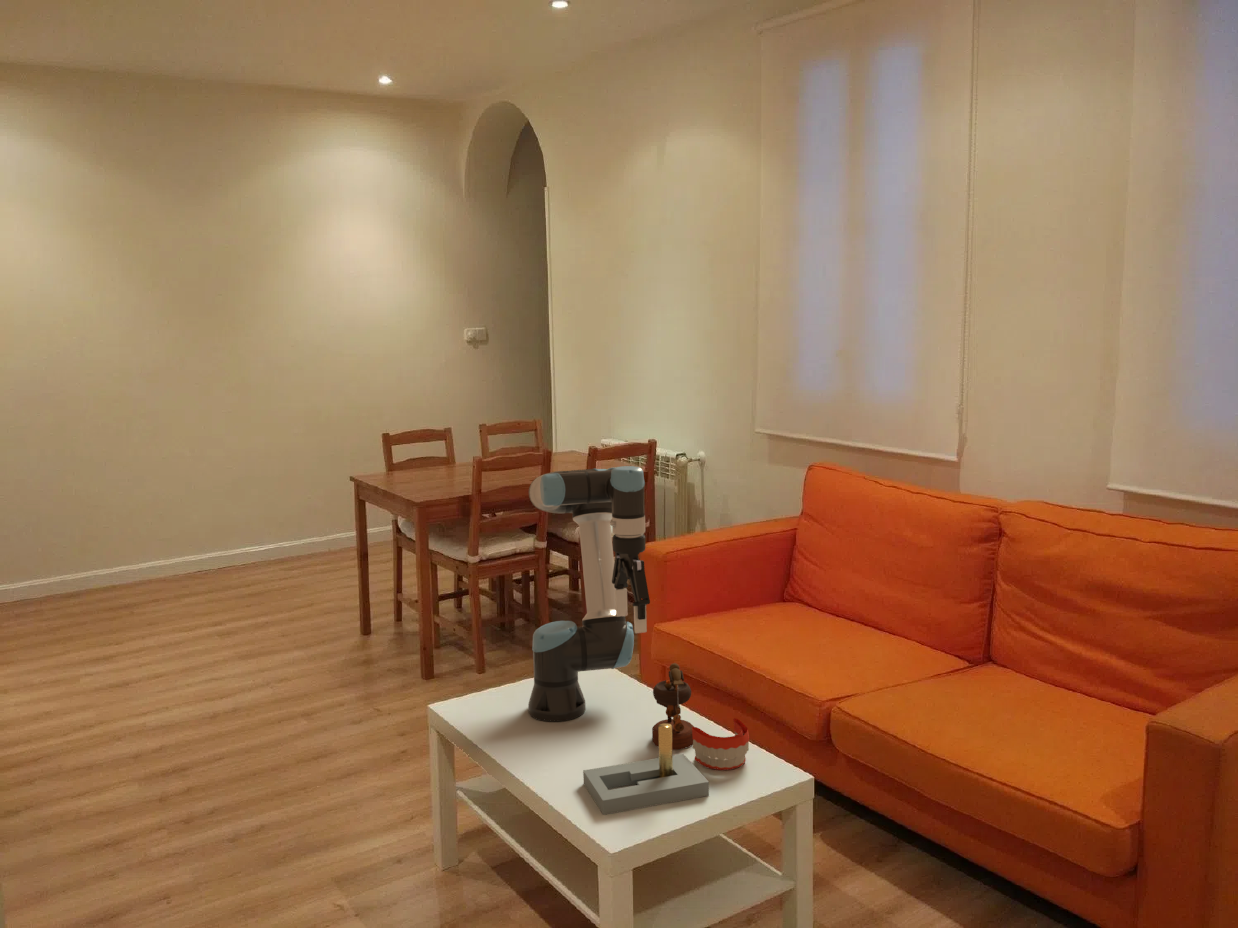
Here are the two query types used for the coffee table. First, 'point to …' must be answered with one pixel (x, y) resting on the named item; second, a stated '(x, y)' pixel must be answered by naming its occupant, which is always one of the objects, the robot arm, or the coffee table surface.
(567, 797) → the coffee table surface
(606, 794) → the keyhole board
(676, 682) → the music box
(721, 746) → the toy
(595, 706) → the coffee table surface
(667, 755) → the brass peg
